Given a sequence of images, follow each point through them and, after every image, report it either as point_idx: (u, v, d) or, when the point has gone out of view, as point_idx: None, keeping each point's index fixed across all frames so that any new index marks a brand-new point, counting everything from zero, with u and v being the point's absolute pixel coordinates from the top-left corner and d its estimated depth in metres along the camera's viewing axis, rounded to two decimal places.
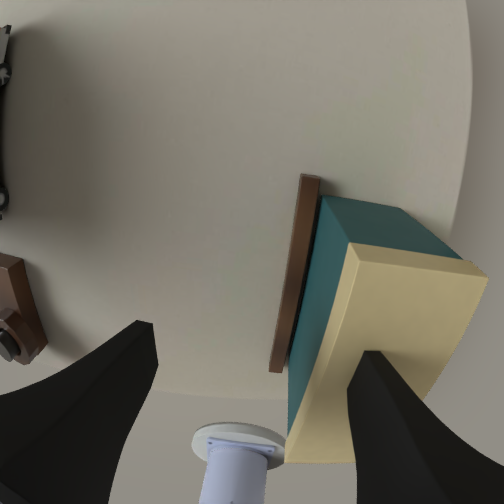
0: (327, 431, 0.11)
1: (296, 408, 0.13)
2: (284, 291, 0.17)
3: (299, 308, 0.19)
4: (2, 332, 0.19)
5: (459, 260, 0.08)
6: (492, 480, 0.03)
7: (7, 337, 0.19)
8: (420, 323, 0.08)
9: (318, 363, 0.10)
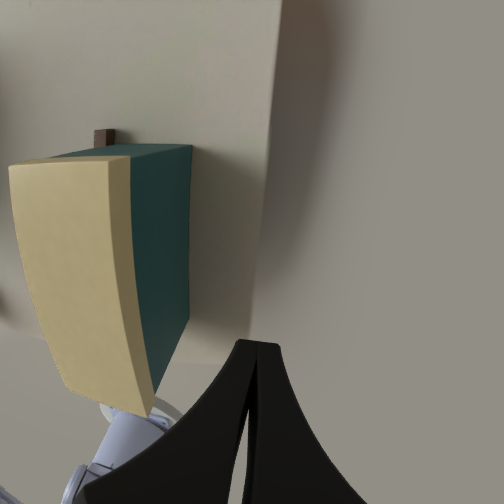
0: (63, 347, 0.11)
1: None
2: None
3: None
4: None
5: (109, 156, 0.09)
6: None
7: None
8: (57, 217, 0.08)
9: None
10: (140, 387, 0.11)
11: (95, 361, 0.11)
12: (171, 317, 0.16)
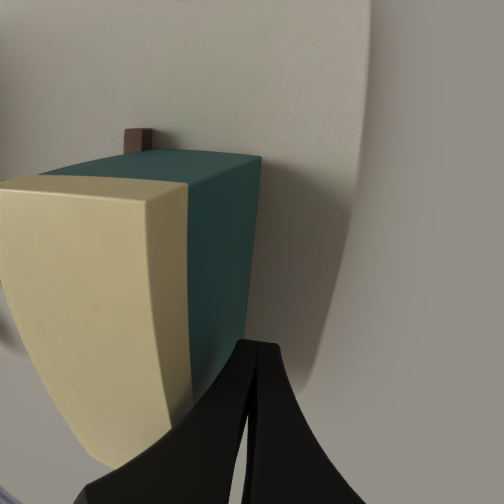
0: (84, 428, 0.08)
1: None
2: None
3: None
4: None
5: (146, 180, 0.05)
6: None
7: None
8: (55, 287, 0.05)
9: None
10: None
11: (128, 452, 0.07)
12: None
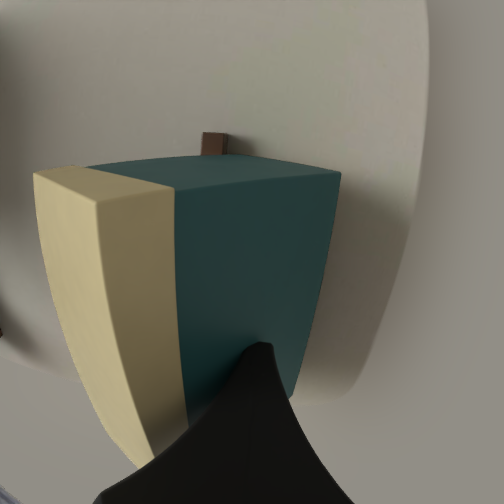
0: (97, 404, 0.09)
1: None
2: None
3: None
4: None
5: (140, 182, 0.05)
6: None
7: None
8: (64, 269, 0.05)
9: None
10: None
11: (125, 439, 0.08)
12: None
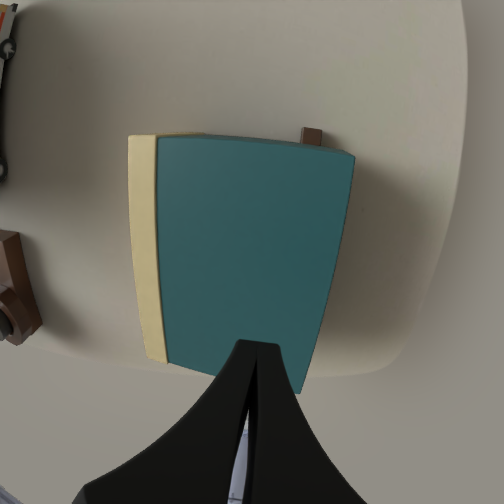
0: None
1: None
2: None
3: None
4: None
5: (161, 134, 0.11)
6: None
7: (0, 314, 0.18)
8: None
9: None
10: (142, 325, 0.15)
11: None
12: None
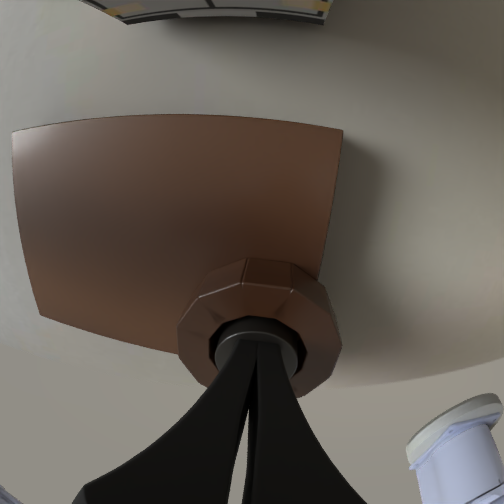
0: None
1: None
2: None
3: None
4: None
5: None
6: None
7: None
8: None
9: None
10: None
11: None
12: None
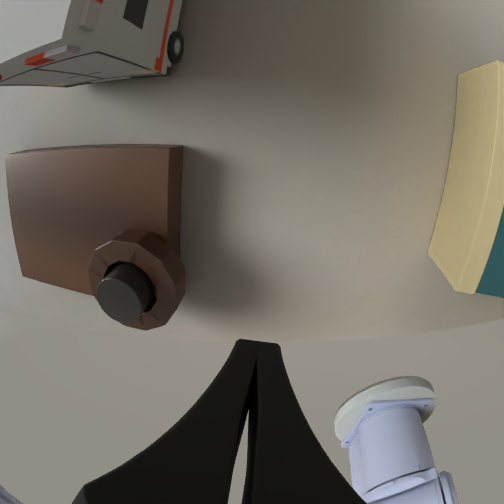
0: (449, 201, 0.14)
1: None
2: None
3: None
4: (122, 268, 0.14)
5: None
6: None
7: (135, 275, 0.14)
8: (476, 97, 0.10)
9: None
10: (473, 246, 0.11)
11: (461, 213, 0.12)
12: None
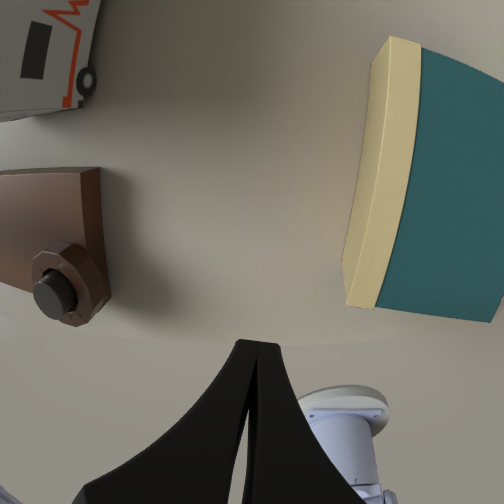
0: (356, 205, 0.15)
1: None
2: None
3: None
4: (51, 274, 0.15)
5: None
6: None
7: (59, 280, 0.15)
8: (377, 84, 0.11)
9: None
10: (362, 256, 0.12)
11: (359, 218, 0.13)
12: (461, 268, 0.11)
